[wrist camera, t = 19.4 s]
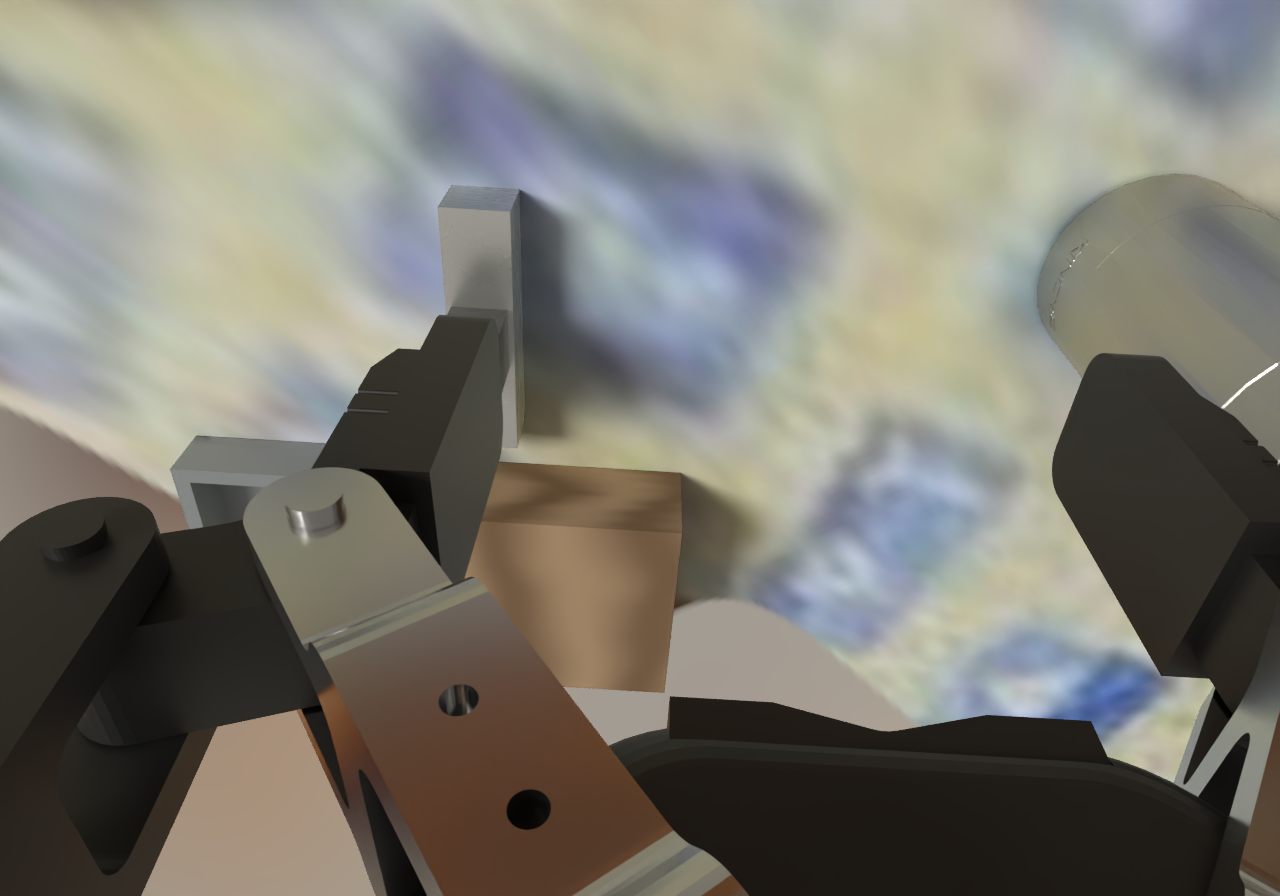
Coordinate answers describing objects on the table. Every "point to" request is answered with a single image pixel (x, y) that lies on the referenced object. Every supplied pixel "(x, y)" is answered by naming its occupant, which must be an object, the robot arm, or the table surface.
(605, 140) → the table surface
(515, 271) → the scraper
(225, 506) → the tray
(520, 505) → the walnut block
